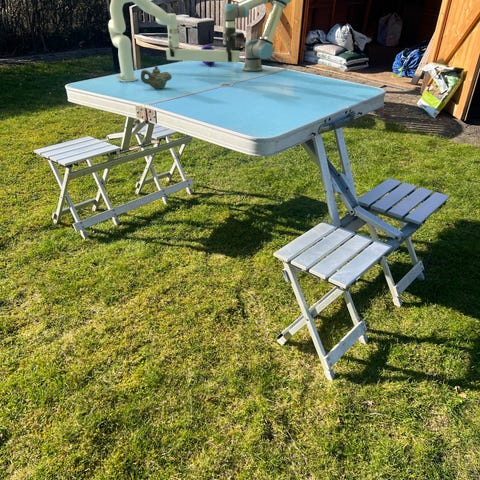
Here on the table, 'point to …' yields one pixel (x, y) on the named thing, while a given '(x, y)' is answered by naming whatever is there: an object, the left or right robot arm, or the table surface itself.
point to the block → (203, 55)
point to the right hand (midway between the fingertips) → (231, 60)
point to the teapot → (155, 78)
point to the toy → (207, 49)
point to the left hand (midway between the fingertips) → (174, 55)
